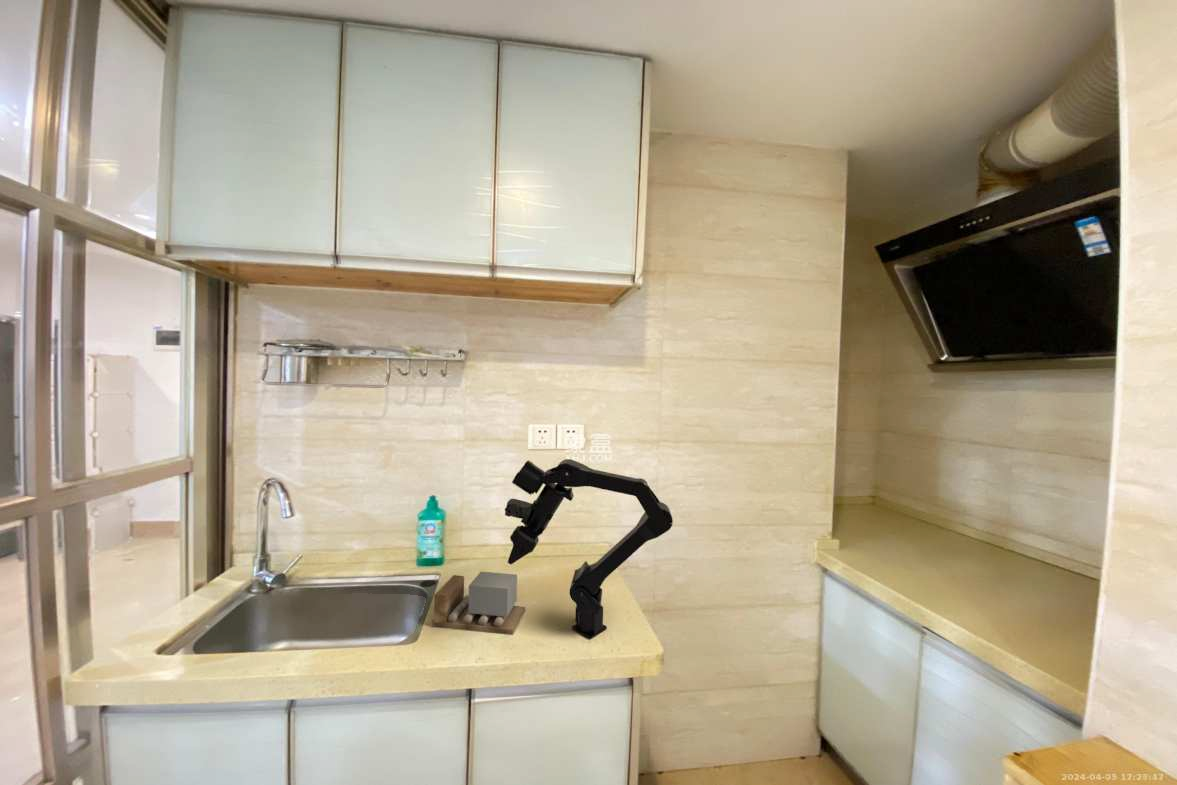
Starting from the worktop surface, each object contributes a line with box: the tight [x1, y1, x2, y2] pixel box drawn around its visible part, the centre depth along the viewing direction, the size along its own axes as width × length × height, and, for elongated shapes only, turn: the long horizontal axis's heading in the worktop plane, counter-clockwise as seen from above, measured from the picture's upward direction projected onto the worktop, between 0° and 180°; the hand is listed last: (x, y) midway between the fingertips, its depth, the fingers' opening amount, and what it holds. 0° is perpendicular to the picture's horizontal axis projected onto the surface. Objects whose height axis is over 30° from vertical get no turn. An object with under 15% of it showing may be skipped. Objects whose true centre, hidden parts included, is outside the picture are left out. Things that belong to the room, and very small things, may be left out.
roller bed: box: [430, 574, 526, 636], centre depth 114 cm, size 21×11×8 cm, turn 82°
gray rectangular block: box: [468, 571, 518, 617], centre depth 113 cm, size 10×8×7 cm
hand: (514, 555), depth 111 cm, fingers open, 9 cm apart
